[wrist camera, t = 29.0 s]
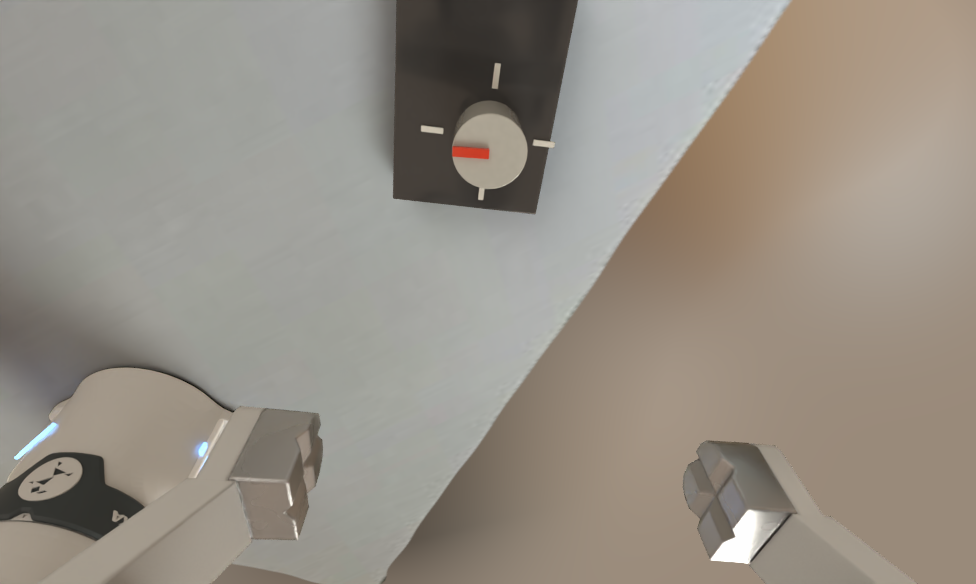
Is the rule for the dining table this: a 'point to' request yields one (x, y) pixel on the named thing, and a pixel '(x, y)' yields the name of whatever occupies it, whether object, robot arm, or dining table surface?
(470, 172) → the knob
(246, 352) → the dining table surface
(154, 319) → the dining table surface
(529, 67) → the hob
